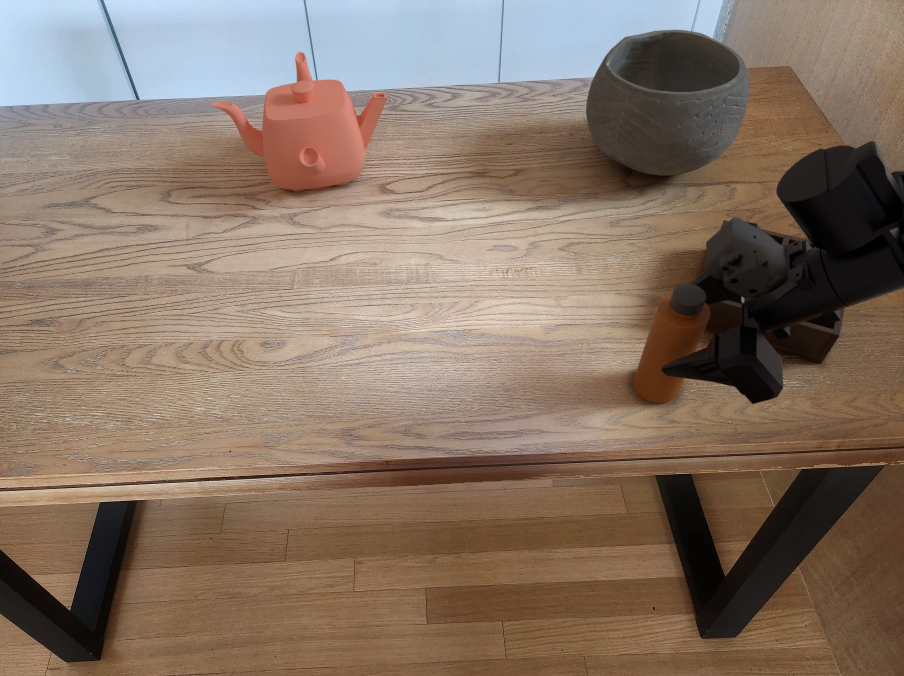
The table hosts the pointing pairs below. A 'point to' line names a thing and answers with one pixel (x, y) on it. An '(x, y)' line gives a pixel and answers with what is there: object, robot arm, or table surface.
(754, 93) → the table surface
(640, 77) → the bowl
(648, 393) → the amber bottle
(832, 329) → the rack
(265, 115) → the teapot
